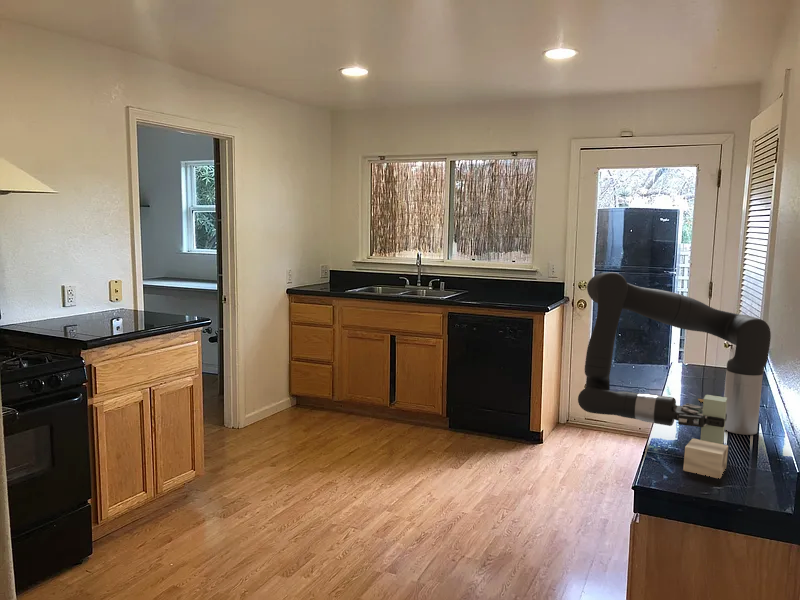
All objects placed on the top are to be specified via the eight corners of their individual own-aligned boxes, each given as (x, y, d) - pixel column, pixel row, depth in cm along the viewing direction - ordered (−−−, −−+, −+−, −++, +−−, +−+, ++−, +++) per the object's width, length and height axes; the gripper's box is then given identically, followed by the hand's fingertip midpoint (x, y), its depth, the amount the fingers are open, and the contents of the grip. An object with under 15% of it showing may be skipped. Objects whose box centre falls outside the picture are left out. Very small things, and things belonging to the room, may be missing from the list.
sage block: (702, 438, 171) (706, 394, 170) (723, 442, 169) (727, 397, 167) (700, 444, 167) (703, 398, 166) (721, 448, 164) (725, 401, 163)
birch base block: (690, 461, 161) (692, 438, 161) (726, 469, 157) (728, 445, 156) (683, 471, 155) (685, 446, 154) (719, 479, 150) (722, 454, 150)
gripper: (651, 401, 168) (724, 412, 159) (660, 389, 180) (729, 399, 171) (649, 429, 169) (721, 442, 160) (658, 416, 181) (726, 427, 172)
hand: (725, 420), depth 166 cm, fingers closed on sage block, 5 cm apart
